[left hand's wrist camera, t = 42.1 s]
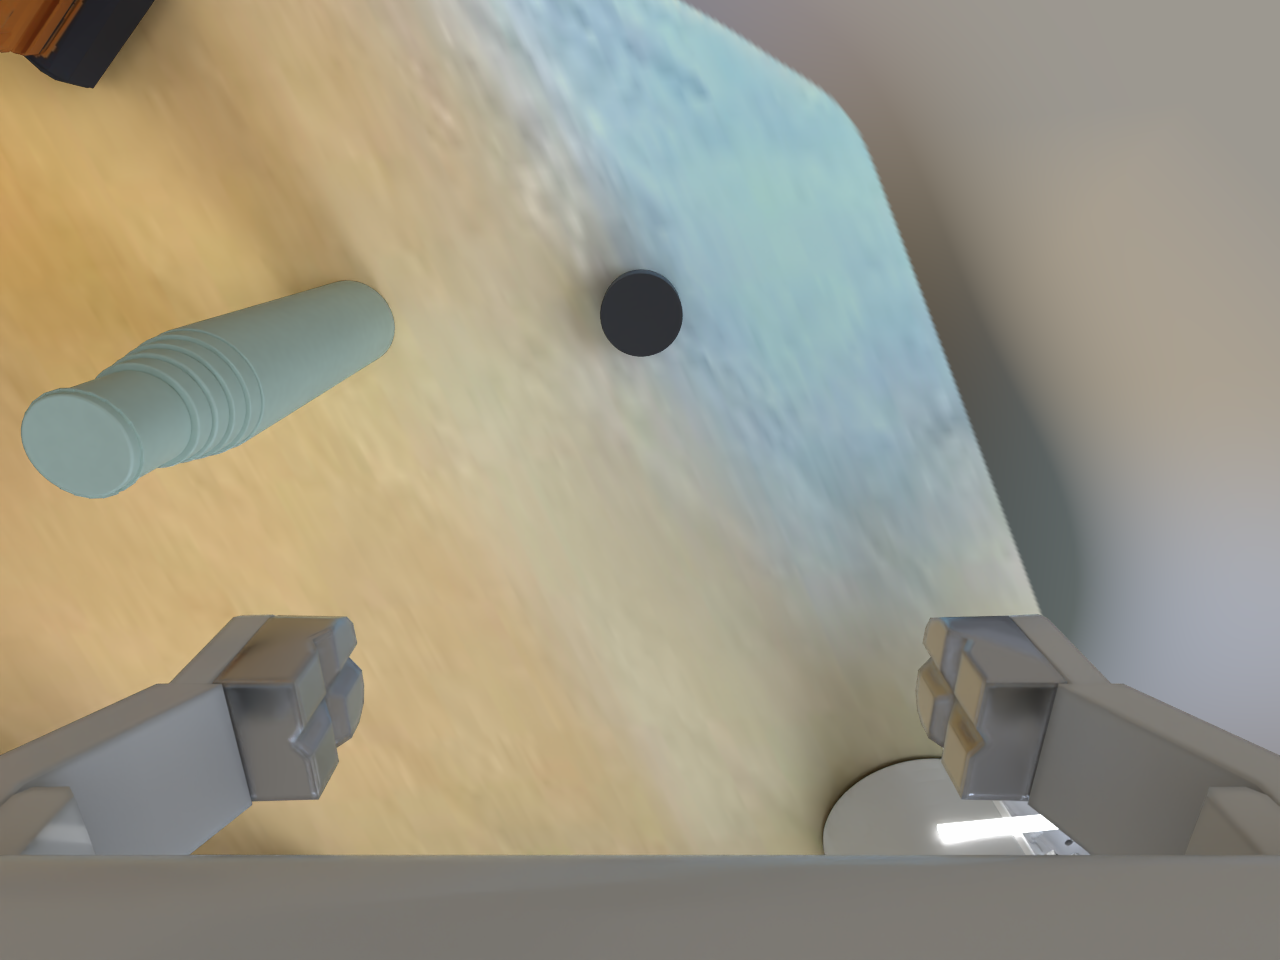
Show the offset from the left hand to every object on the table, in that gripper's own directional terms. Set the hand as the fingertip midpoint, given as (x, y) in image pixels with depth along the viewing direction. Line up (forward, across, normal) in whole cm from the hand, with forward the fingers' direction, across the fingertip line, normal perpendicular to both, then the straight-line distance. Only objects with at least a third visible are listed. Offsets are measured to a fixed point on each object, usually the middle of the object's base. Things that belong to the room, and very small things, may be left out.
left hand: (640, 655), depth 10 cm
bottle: (+33, +16, +1) cm, 37 cm away
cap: (+31, 0, 0) cm, 31 cm away
